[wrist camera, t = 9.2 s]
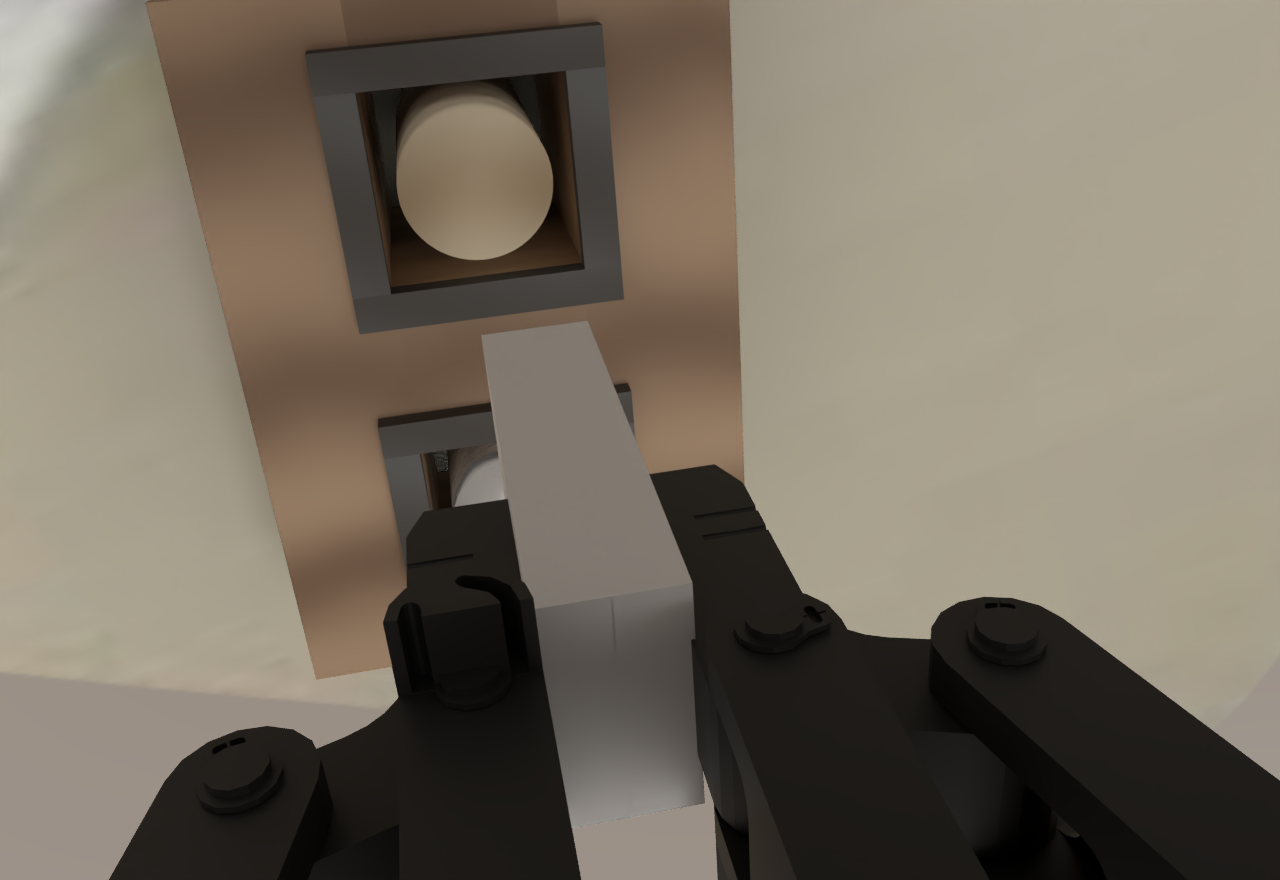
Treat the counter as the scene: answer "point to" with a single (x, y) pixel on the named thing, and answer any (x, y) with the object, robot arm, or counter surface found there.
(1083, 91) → the counter surface
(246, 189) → the walnut block
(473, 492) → the metal peg
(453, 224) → the birch dowel
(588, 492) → the robot arm
